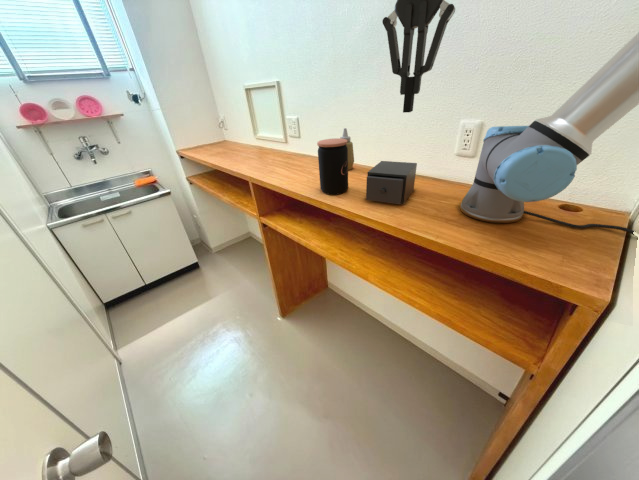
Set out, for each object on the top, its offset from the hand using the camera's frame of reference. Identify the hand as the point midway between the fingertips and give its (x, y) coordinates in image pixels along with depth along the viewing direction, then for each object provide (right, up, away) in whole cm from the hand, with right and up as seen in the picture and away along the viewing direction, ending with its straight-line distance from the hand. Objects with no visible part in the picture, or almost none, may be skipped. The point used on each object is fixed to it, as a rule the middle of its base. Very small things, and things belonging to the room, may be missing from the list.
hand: (407, 111), depth 55 cm
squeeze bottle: (-7, +6, +66) cm, 66 cm away
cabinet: (+6, -12, +34) cm, 37 cm away
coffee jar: (-14, -9, +42) cm, 45 cm away
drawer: (+4, -13, +31) cm, 34 cm away
